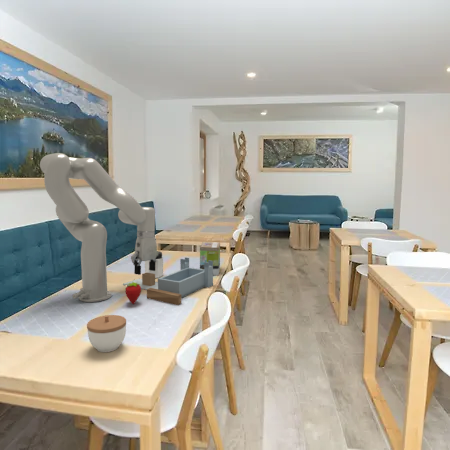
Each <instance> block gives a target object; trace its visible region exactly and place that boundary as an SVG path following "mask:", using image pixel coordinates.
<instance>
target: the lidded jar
mask: <svg viewBox="0 0 450 450" xmlns="http://www.w3.org/2000/svg"><path fill="white" fill-rule="evenodd" d="M86 328H87V329H86V330H87V335H88V336H87V337H88V340H89V342H90V345H91V346H92V347H93V348H94V349H96V350H97V352H100V353H110V352H114V351H115V350H117V349H118V348H119V347H120V345H122V343H123V342H124V340H125V337H126V331H127V319H126V318H125V317H124V316H122V315H118V314H105V315H101V316H97V317H94V318H93V319H92V318H91V320H89V321H88V322H87V323H86Z"/></svg>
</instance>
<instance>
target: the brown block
mask: <svg viewBox="0 0 450 450" xmlns="http://www.w3.org/2000/svg"><path fill="white" fill-rule="evenodd" d="M146 299H149V300H153V301H156V302H157V301H158V302H161V303H165V304H170V305H175V306H179V305H181V304H182V298H181V294H177V293H173V292H168V291H163V290H158V289H154V288H149V289H147V290H146Z"/></svg>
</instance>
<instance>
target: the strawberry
mask: <svg viewBox="0 0 450 450" xmlns="http://www.w3.org/2000/svg"><path fill="white" fill-rule="evenodd" d="M133 280H136V278H134V279H133ZM127 285H129V286H126V287H125V295H126V297H127V299H128V301H129V302H130V303H131V304H133V305H135V304H136V302H137V300H138V299H139V297H140V296H141V293H142V289H141V287H140V286H139V285H140V284H137V283H134V282H133V283H129V284H127Z"/></svg>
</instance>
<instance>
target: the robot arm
mask: <svg viewBox="0 0 450 450" xmlns="http://www.w3.org/2000/svg"><path fill="white" fill-rule="evenodd" d="M39 168H40V170H41V172H43V174H44V176H43V177H44V179H43V181H44V186H45V187H44V188H45V191H46V193H47V195H48V196H49V197H50V199H51V200H52V201H53V203H54V204H55V213H56V216H57V218H58V219H59V221H60V223H62V224H63V226H64V227H65V228H66V230H67V231H68V233H70V234H71V235H72V237H74V238H75V240H77V241H79V242H81V248H80V262H81V263H80V266H81V284H82V287H81V288H80V291H79V292H75V293H73V294H72V298H73V299H74V300H75V299H78V300H79V301H80V302H85V303H95V302H102V301H106V300H108V299H110V298H111V297H112V292H111V291H110V290H108V278H107V277H108V276H107V275H108V274H107V273H108V272H107V249H106V248H107V241H108V232H107V229H106V227H105V225H103V224H102V223H101V222H99V221H96V220H92V219H90V218H89V213H90V212H89V208H88V206H87V204H86V203H85V202H84V201H83V200H82V198H81V197H80V196H79V194H78V193H77V192H76V191H75V189H74V188H73V186H72V184H71V181H70V179H72V180H84V181H85V182H86V183H87V184H88V186H89V187H90V188H91V189H92V190H93V191H94V192H95V193H96V194H97V195H98V196H99V198H101V199H102V200H103V201H105V202H107V203H109V204H111V205H113V206H115V207H116V208H118V213H117V215H118V219H119V220H120V221H121V222H122V223H124V224H127V225H134V226H137V229H136V230H137V232H136V236H137V238H136V240H135V247H134V252H133V254H132V255H131V256H130V259H131V260H130V261H131V262H132V264H133V266H134V275H138V276H141V275H142V266H141V264H142V263H143V262H145V261H148V260H150V261H151V262H149V270H152V271H155V262H156V261H157V260H156V259H157V258H158V254H159V252H158V250H157V240H156V237H155V231H156V230H155V228H156V227H155V225H156V224H155V222H156V221H155V220H156V219H155V218H156V216H155V215H156V210H155V208H154V207H150V206H142V205H140V203H139V202H138V201H137V200H136V199H135V198H134V197H133V196H132V195H131V194H130V193H128V191H126V190H125V189H124V188H123V187H122V186H120V185H119V184H117V183H116V181H115V180H114V179H113V178H112V177H111V175H109V173H108V172H107V170H106V169H104V168H103V166H102V165H101V164H100V162H99V161H98V160H96V159H94V158H91V157H83V158H79V157H69V156H68V155H66V154H65V153H62V152H55V153H49V154H46V155H45V156H43V157H42V158H41V159H40V162H39Z"/></svg>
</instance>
